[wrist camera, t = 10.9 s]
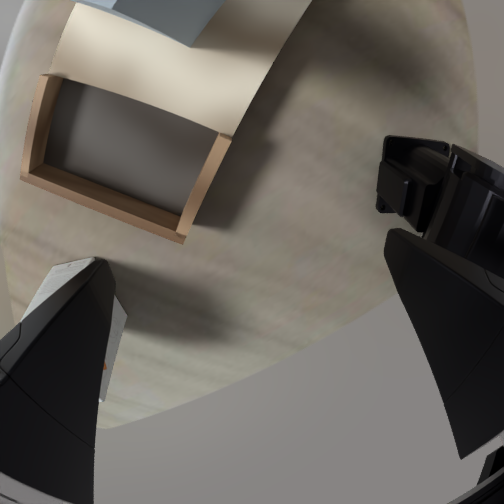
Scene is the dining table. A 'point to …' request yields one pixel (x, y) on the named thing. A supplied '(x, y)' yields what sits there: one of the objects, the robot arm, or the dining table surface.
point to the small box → (69, 270)
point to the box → (148, 110)
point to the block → (163, 15)
